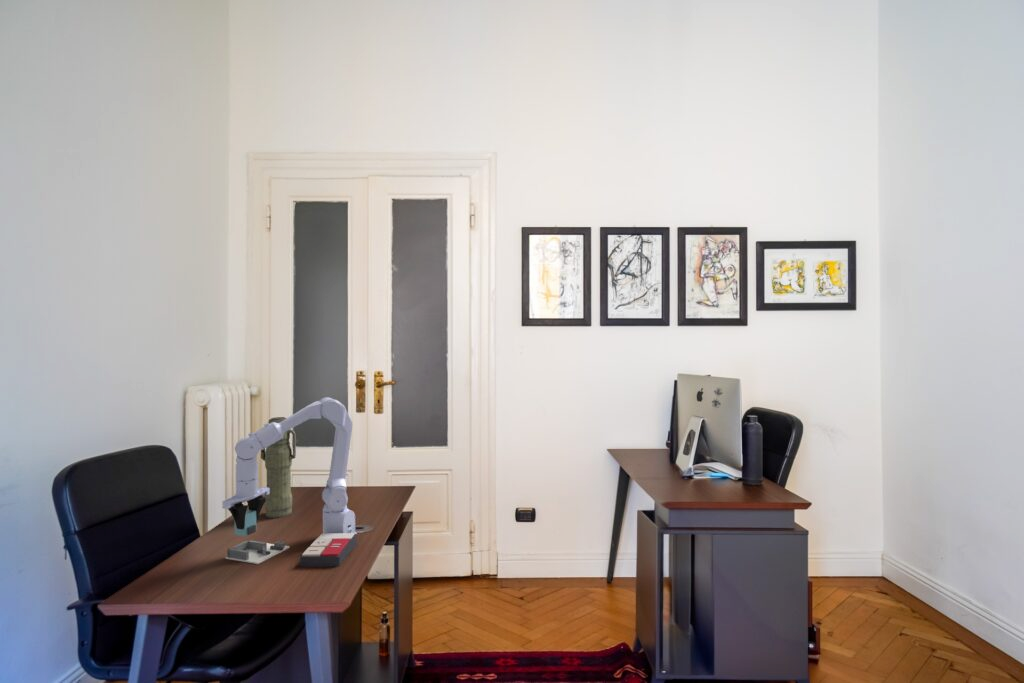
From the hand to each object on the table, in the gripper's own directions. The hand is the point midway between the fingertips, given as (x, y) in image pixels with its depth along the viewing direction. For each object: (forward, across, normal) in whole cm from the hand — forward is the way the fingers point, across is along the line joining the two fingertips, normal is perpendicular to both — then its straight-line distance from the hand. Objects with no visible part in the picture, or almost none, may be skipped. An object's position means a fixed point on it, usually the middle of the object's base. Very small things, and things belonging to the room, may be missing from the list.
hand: (247, 525), depth 142 cm
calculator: (+9, -7, +23) cm, 26 cm away
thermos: (+9, -31, -20) cm, 38 cm away
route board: (+8, -2, +2) cm, 9 cm away
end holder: (+8, 0, 0) cm, 8 cm away
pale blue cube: (+2, 0, -1) cm, 2 cm away
